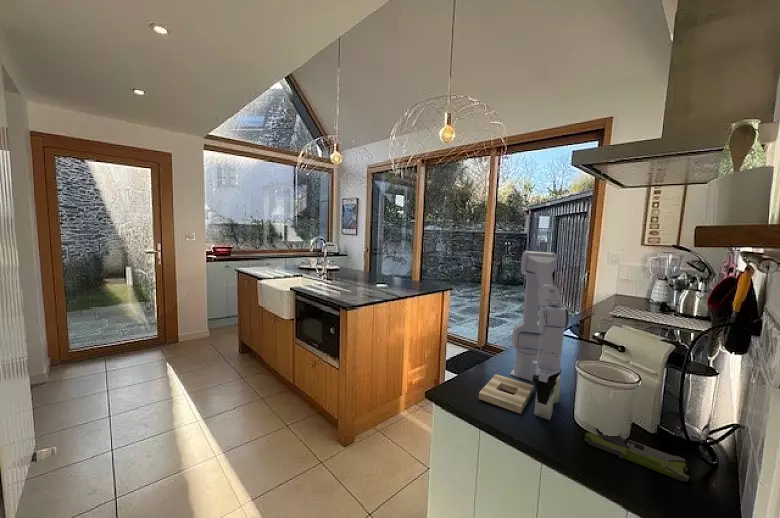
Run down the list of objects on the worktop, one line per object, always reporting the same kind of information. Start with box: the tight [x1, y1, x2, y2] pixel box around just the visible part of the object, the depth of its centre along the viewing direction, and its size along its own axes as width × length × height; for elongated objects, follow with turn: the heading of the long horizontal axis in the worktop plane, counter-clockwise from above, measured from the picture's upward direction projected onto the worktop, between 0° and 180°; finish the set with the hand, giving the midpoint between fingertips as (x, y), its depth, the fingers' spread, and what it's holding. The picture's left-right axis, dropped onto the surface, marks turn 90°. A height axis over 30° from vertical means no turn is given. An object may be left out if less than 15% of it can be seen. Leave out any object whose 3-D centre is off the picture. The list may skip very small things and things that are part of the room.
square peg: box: [533, 389, 555, 421], centre depth 91 cm, size 4×4×7 cm
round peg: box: [553, 375, 562, 404], centre depth 99 cm, size 6×6×7 cm
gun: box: [584, 429, 690, 483], centre depth 79 cm, size 2×19×15 cm
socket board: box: [478, 373, 535, 415], centre depth 100 cm, size 16×12×2 cm
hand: (544, 397), depth 90 cm, fingers open, 7 cm apart
